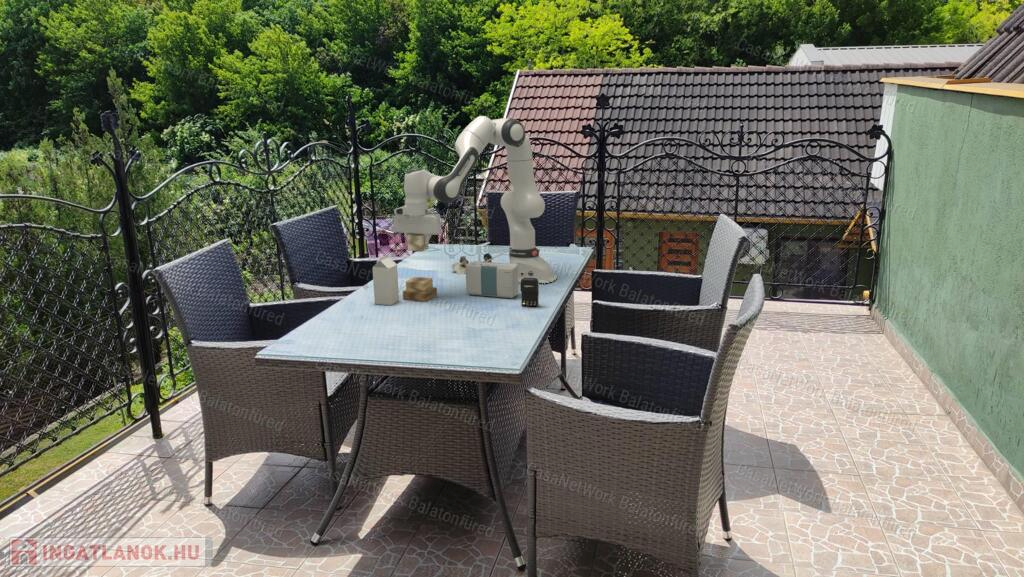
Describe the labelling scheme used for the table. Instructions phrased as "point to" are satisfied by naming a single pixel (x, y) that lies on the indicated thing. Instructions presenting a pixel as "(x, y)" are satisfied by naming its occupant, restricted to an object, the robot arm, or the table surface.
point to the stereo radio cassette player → (492, 278)
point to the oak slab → (419, 284)
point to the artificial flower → (462, 267)
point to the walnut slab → (420, 295)
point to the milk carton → (385, 281)
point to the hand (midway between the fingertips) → (418, 244)
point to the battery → (530, 291)
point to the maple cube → (417, 242)
